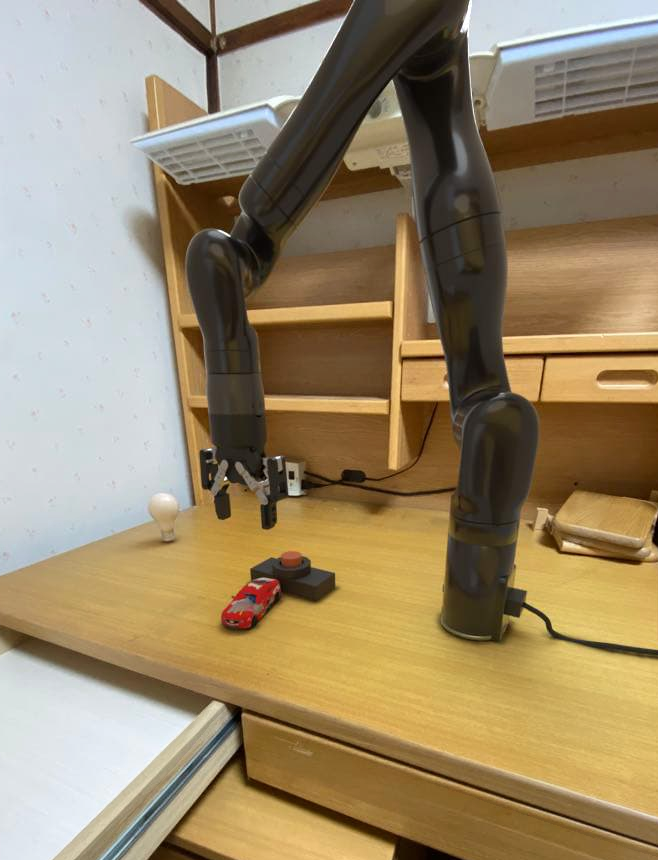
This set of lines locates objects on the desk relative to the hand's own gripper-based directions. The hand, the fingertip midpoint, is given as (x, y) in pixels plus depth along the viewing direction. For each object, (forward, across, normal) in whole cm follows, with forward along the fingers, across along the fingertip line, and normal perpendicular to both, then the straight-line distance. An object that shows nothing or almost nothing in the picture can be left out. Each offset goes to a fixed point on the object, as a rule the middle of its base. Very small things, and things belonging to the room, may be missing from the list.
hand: (246, 523), depth 68 cm
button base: (+15, 0, +10) cm, 18 cm away
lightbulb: (+15, -37, +14) cm, 42 cm away
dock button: (+11, 0, +10) cm, 15 cm away
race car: (+15, 0, 0) cm, 15 cm away
